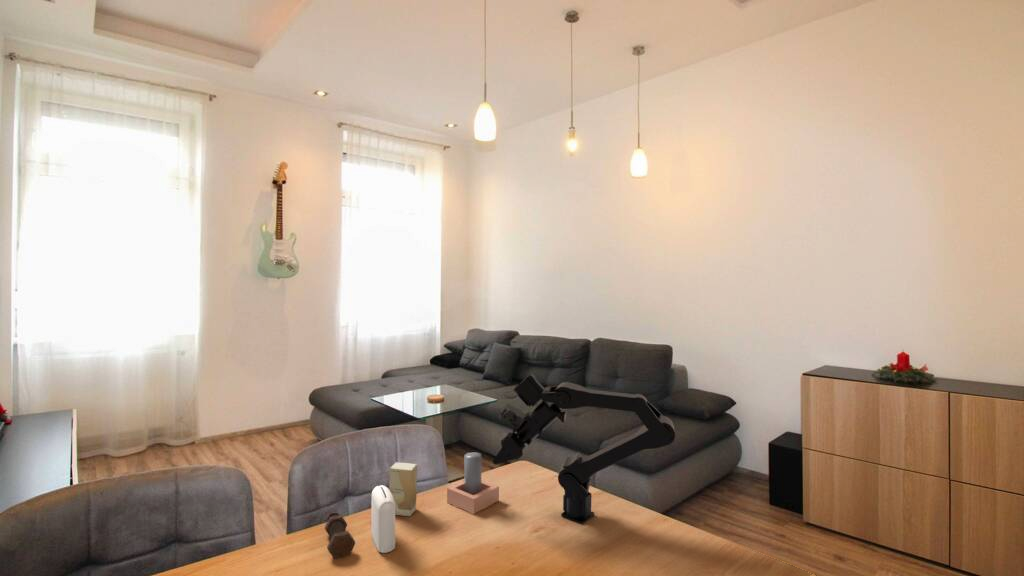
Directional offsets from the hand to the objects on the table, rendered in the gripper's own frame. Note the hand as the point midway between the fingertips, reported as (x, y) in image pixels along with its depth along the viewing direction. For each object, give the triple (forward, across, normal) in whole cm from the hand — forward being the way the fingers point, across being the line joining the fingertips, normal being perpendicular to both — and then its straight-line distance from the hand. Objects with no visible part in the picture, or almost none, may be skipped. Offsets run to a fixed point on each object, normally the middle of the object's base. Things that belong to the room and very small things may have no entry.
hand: (498, 456), depth 132 cm
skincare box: (+26, +10, -7) cm, 29 cm away
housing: (+14, 0, +4) cm, 15 cm away
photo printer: (+24, +24, -5) cm, 35 cm away
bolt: (+32, +27, -12) cm, 43 cm away
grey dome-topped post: (+14, 0, +4) cm, 14 cm away
